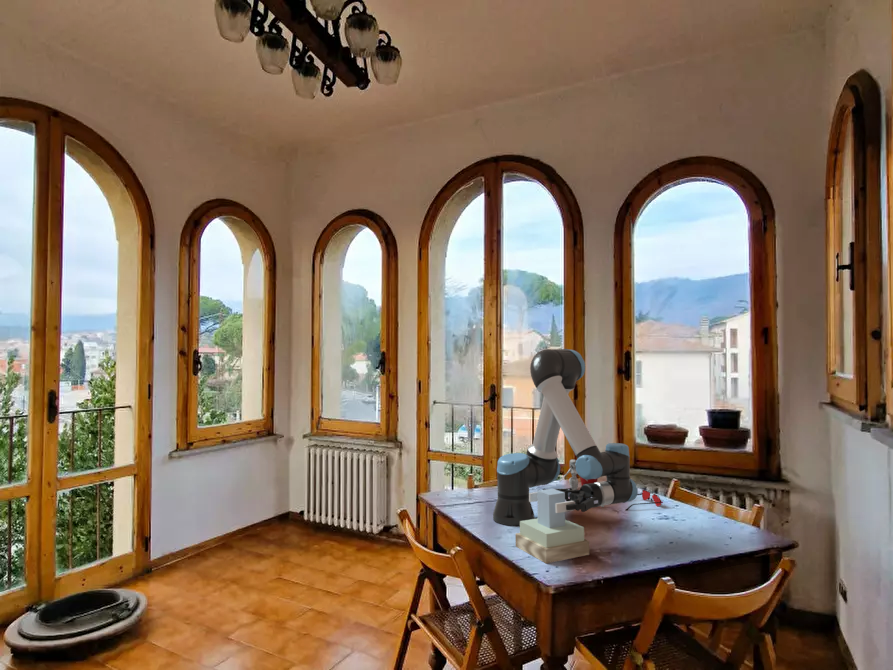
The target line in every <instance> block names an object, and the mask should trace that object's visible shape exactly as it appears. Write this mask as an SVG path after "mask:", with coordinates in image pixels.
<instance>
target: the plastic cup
mask: <svg viewBox="0 0 893 670" xmlns="http://www.w3.org/2000/svg"><path fill="white" fill-rule="evenodd" d="M598 479H599V478H596V479H587V480H588V481H586V479H583V478H582V477H580V476H579V480H580V484H581V486H582V485H584V484H589V483H595V482H598Z"/></svg>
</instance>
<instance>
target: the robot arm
mask: <svg viewBox="0 0 893 670" xmlns="http://www.w3.org/2000/svg"><path fill="white" fill-rule="evenodd" d="M530 362H531V363H530V365H529V366H530V367H529V369H530V377H531V380H532V383H533V385H534V386H535V388H536V390H537V391H538V392H540V393H542V395H543V399H542V403H541V409H540V411H539V416H538V420H537V425H536V429H535V433H534V437H533V441H532V443H531V445H528V447H527V449H526V450H527V451H526V454H525V453H521V452H514V453H507V454H504V455H502V456H500V457H498V460H497V466H496V473H497V474H496V475H497V476H496V477H497V478H496V479H497V480H496V481H497V485H496V486H497V499H496V503H495V506H494V510H493V512H492V519H493V521H494V522H496V523H497V524H501V525H505V526H520V521H524V520H530V519H535V513H534V509H533V505H532V504H531V503H534V502H537V491H534V492H530V488H535V487H539V486H546V485H549V484H552V483H553V482H555V481H556V480H557V479H558V477H559V475H560V473H561V463H560V460H559V458H558V455H559V454H558V453H557V451H556V447H557V442H558V440H559V439H558V438H559V434H560V431H561V430H562V432H563V435H564V436H565V438H566V441H567V442H568V444H569V445H570V447H571V449H572V451H573V454H574V455H575V457H576V459H575V460H576V463H575V466H576V471H577V473H578V474H577V475H578V476H579V478H580V477H582V478H583V479H596V478H598V479H599V478H603V477H606V480H603V481H597V482H595V483H589V484H584V485H581V487H580V488H579V489H577V490H576V489H575V490H572V488H570V487H569V488H555V489H556V490H558V491H561V492H564V493H565V502H561V503H555V512H556V513H561V512H565V513H566V512H572V511H573V512H574V511H578V512H579V511H581V512H582V513H584V512H586V511H589V510H591V509H592V508H598V507H602V508H604V507H605V506H609V505H615V504H626V503H629V502H632V501H634V500H635V499H636V498H637V496H638V495H637V494H639V492H638V491H639V490H638V487H637V483H636V482H635V481H634V480H633V479H632V478H630V477H631V474H630V472H631V471H630V470H631V468H630V466H631V465H630V463H631V461H630V460H631V459H630V458H631V457H630V447H629V446H628V445H627V444H625V443H619V442H611V443H609V442H608V443H607V444H606V445H605V450H604V451H602V452H601V451H600V449H599V447H598V446H597V443H596V442H595V440H594V439H593V437H592V435H591V433H590V431H589V429H588V428H587V426H586V424H585V423H584V419H582V417H581V415H580V413H579V412H578V410H577V408H576V406H575V404H574V403H573V401H572V399H571V397H570V396H569V394H570V392H571V391H573V390H574V389H575V387H576V382H577V381H579V380H580V379H581V378H583V376H584V375H585V372H586V362H585V360H584V359H583V357H582V355H581V353H580V352H578V351H577V350H574V349H568V348H559V349H557V348H556V349H554V348H553V349H552V348H547V349H546V348H544V349H542V350H540V351H538V352H537V353H535V355H534V356H533V358H532V359H531V361H530ZM546 489H547V488H542V490H546Z"/></svg>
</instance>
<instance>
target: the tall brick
mask: <svg viewBox="0 0 893 670" xmlns="http://www.w3.org/2000/svg"><path fill="white" fill-rule="evenodd" d="M545 489H546V490H543V489H540V490H536V492H537V501H536V502H537V518H538V523H539V524H541V525H543V526H545V527H548V528H554V527H560V526H565V520H566V512H561V513H556V512H555V503H561V502H566V500H565V493H564V492H561V491H558V490H556V489H557V488H545Z"/></svg>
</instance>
